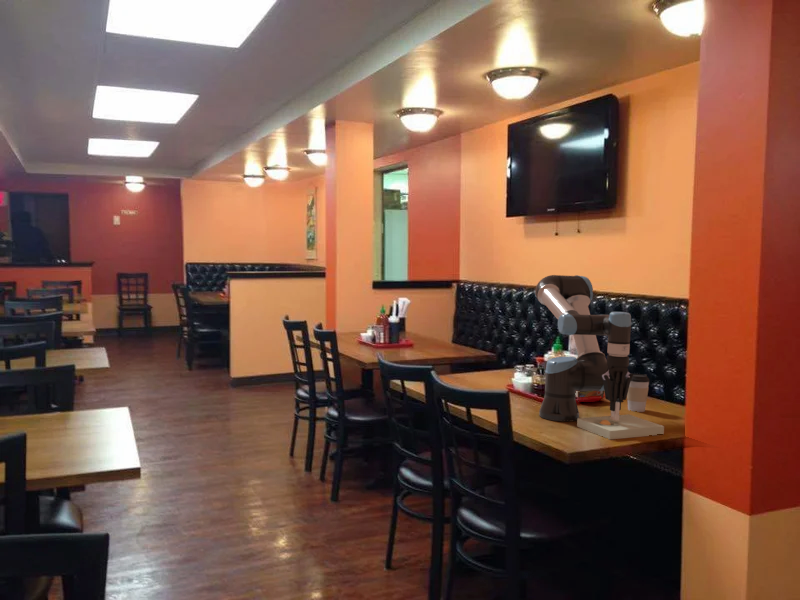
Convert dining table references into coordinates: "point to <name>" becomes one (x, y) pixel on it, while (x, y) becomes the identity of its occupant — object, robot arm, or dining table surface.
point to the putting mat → (620, 427)
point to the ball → (605, 422)
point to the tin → (590, 393)
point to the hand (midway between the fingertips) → (614, 419)
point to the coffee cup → (638, 392)
